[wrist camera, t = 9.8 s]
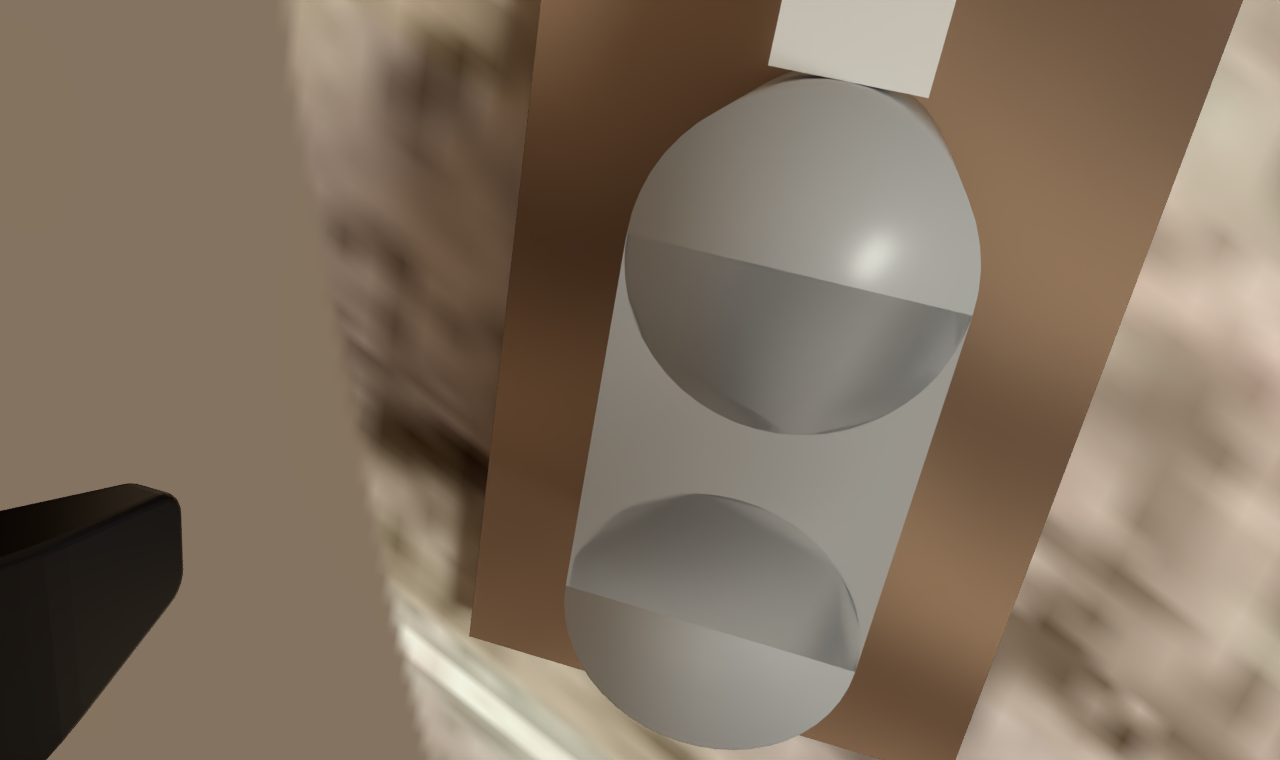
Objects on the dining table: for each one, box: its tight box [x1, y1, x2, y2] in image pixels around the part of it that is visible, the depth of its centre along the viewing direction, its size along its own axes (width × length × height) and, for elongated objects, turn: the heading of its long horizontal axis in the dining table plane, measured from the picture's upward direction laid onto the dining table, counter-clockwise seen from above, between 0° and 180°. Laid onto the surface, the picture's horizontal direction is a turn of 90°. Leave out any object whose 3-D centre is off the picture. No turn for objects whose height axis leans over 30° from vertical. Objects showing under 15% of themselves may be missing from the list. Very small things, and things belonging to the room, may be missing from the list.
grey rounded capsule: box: [564, 0, 981, 750], centre depth 14 cm, size 11×4×5 cm, turn 170°
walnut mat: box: [469, 0, 1243, 760], centre depth 17 cm, size 16×10×1 cm, turn 170°
